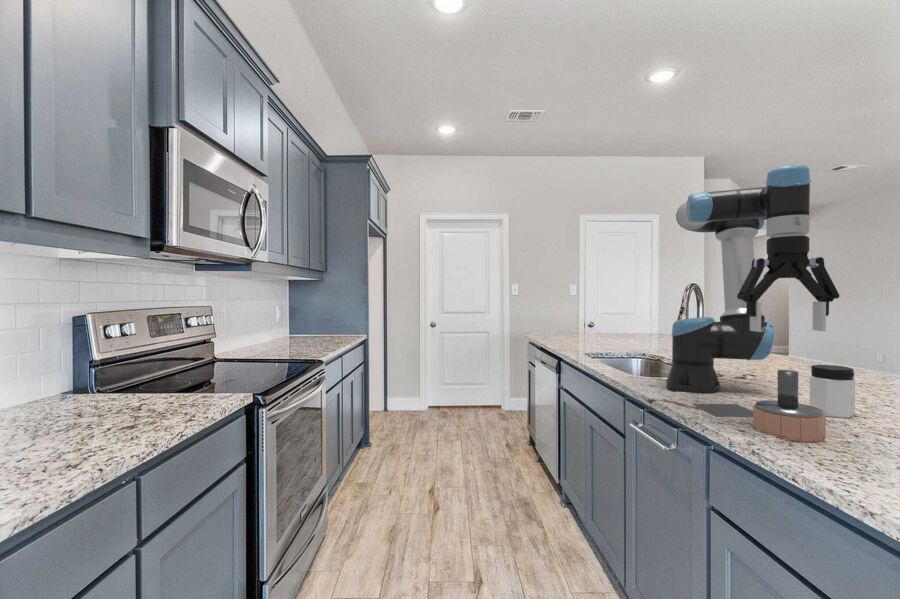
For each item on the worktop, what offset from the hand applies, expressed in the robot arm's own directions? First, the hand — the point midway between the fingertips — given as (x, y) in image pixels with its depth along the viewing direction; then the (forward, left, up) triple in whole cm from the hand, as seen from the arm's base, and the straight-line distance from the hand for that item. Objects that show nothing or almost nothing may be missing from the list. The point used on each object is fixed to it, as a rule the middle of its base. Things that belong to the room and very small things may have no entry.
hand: (787, 331), depth 95 cm
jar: (-15, +21, -23) cm, 35 cm away
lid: (+1, -1, -18) cm, 18 cm away
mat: (-15, -5, -23) cm, 28 cm away
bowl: (+1, -1, -23) cm, 23 cm away
